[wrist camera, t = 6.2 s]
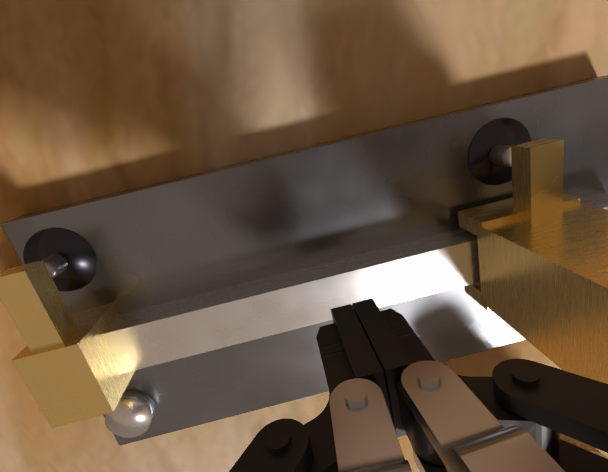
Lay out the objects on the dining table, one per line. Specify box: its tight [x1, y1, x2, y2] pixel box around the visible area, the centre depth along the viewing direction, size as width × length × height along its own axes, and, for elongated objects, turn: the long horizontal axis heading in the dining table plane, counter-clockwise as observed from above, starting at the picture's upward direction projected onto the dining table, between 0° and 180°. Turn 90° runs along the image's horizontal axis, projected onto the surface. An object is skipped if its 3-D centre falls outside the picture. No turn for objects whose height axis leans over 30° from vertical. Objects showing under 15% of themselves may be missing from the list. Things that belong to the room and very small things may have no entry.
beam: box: [0, 192, 608, 428], centre depth 14 cm, size 25×6×3 cm, turn 103°
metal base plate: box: [2, 75, 608, 445], centre depth 16 cm, size 26×12×2 cm, turn 103°
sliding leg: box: [458, 139, 608, 384], centre depth 11 cm, size 4×7×10 cm, turn 13°
